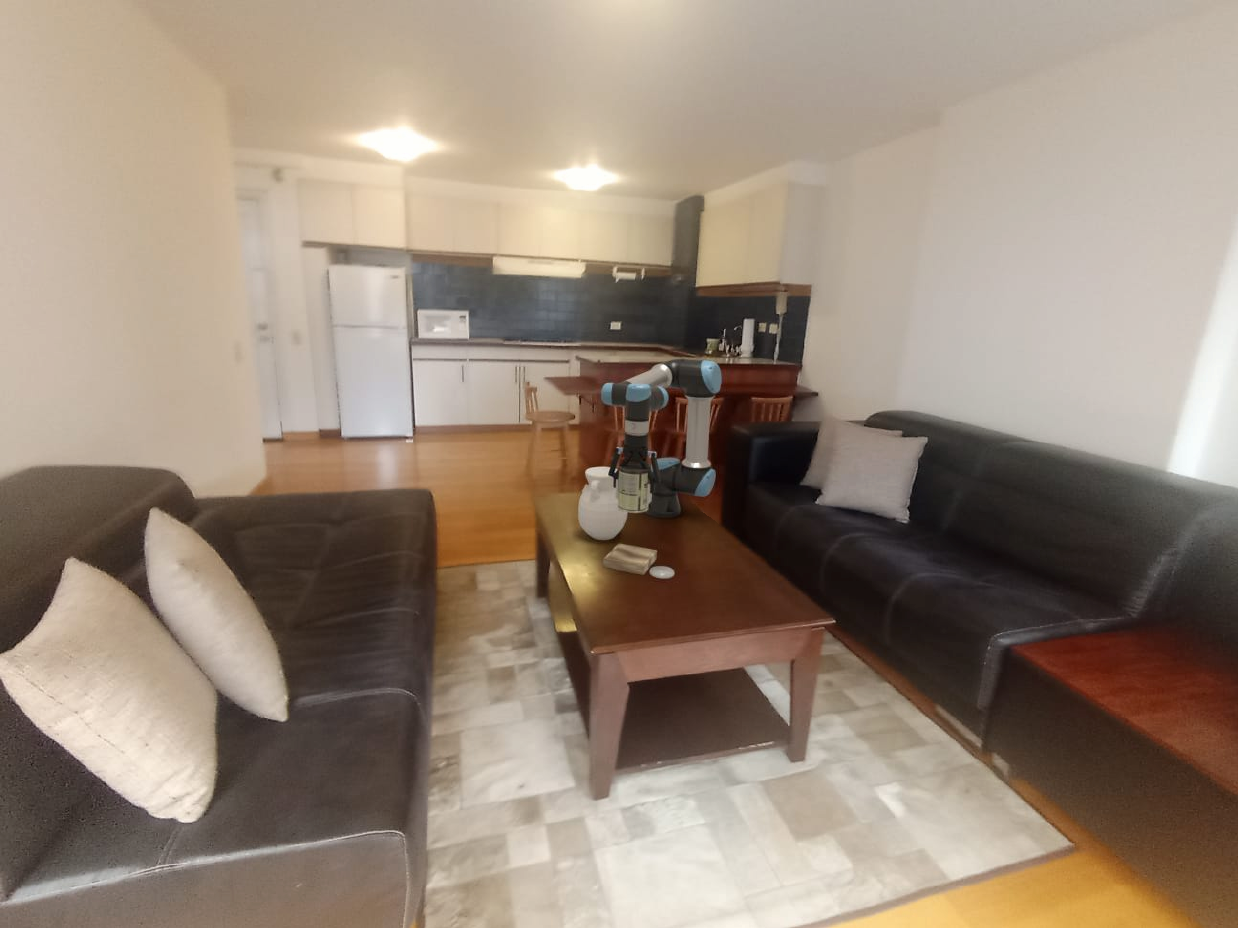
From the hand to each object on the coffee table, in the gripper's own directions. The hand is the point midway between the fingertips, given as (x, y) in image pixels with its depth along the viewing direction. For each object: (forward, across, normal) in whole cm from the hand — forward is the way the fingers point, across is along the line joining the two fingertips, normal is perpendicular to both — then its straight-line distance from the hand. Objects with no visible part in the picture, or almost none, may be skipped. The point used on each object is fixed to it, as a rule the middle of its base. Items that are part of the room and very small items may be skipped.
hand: (633, 499), depth 188 cm
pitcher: (+22, -18, +18) cm, 34 cm away
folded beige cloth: (+22, 0, 0) cm, 22 cm away
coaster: (+22, +12, -3) cm, 26 cm away
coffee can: (+3, 0, 0) cm, 3 cm away
